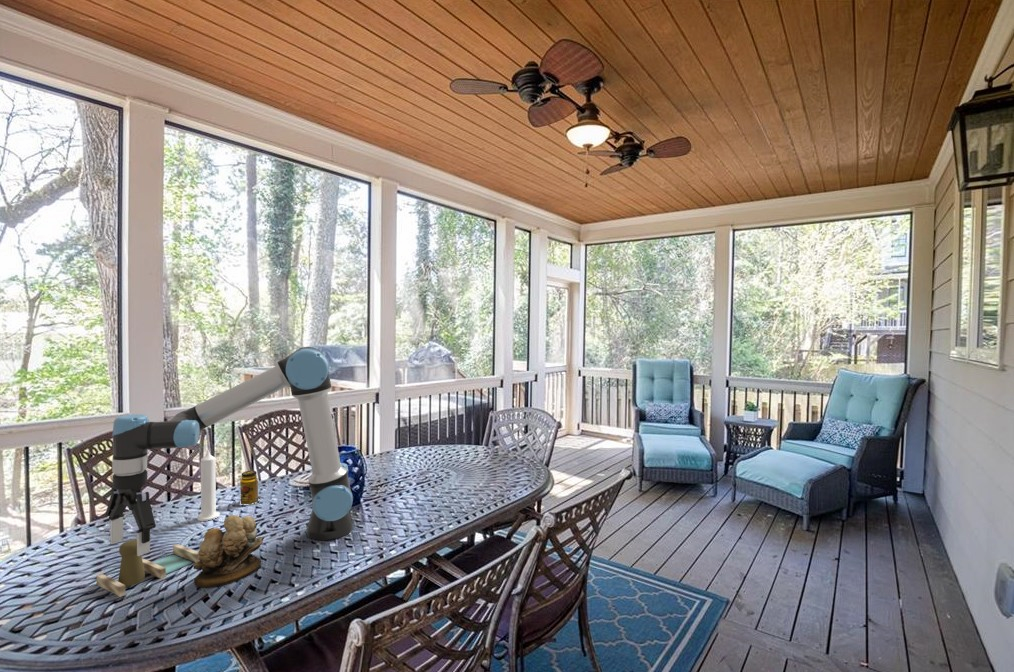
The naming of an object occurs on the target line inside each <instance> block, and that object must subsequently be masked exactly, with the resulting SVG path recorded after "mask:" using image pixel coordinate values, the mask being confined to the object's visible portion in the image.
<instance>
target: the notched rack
mask: <svg viewBox="0 0 1014 672" xmlns="http://www.w3.org/2000/svg"><path fill="white" fill-rule="evenodd" d="M172 550H173V551H172V552H173V553H172V554H170V555H168V556H166V557H162V558H161V559H158V560H155V561H150V560H147V559H145V558H143V557H142V561H143V567H144V572H145V573H148V574H150V575H152V576H154V577H156V578H159V579H164V578H166V577H167V576H166V575H168V574H171V573H174V572H175V571H177V570H178V571H179V570H180V569H183V568H185V567H187V566H189V565H191V564H193V563H196V562H198V561H200V560H199V559H198V555H199V554H198V552H199V551H198V550H194V549H191V548H188V547H187V546H184V545H181V544H178V543H176V544H174V545H173V546H172ZM95 579H96V586H98V587H100V588H102V589H104V590H106V591H108V592H110V593H112V594H113V595H116V596H117V597H120V598H122V597H123V596H125V595H126V587H125V585H124V584H122V583H120V582H118V580H116V579H113V578H112V577H110V576H108V575H105V574H104V573H100V574H97V575H96V578H95Z"/></svg>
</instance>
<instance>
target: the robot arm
mask: <svg viewBox="0 0 1014 672" xmlns="http://www.w3.org/2000/svg"><path fill="white" fill-rule="evenodd" d="M329 370H330V368H329V363H328V360H327V358H326V356H325V355H324V353H323V352H321V350H319V349H318V348H315V347H314V346H303V347H302V346H301V347H300V348H297V349H296V350H294V351H293V352H292V353H290V354H289V355H288V356H285V358H283V359H281V360H279V361H276V363H275V365H274V366H273V367H271V368H269V369H268V370H267V369H266V370H265V371H263V372H261V373H260V374H257V375H255V376H253V377H251V378H249V379H247V380H245V381H242V382H241V383H239V384H237V385H235V386H233V387H230V388H229V389H226V390H225V391H223V392H221V393H219V394H216V395H214V396H213V397H212V396H211V397H210V398H208V399H206V400H205V401H202V402H200V403H198V404H196V405H195V406H192V407H190V408H188V409H187V410H182V411H180V412H179V413H177V414H175V416H173V418H171V419H170V420H166V421H165V420H164V421H149V417H148V415H146V414H141V413H139V414H138V413H136V414H135V413H133V414H124V415H121V416H118V417H116V418H115V419H113V420H114V421H113V425H112V426H113V428H112V434H111V435H112V461H111V462H112V463H111V466H112V468H111V470H112V471H111V472H112V473H113V475H112V487H111V493H110V494H111V495H110V497H109V500H108V505H107V508H106V511H105V516H106V517H108V519H109V520H110V525H109V526H110V533H109V534H110V543H109V544H110V545H114V544H117V543H119V542H122V541H124V516H125V515H124V512H125V510H126V508H128V511H131V512H132V515H133V518H134V520H135V522H136V526H137V527H138V530H137V531H136V540H137V556H140V555H141V556H143V555H146V554H148V553H150V552H151V530H152V529H156V528H157V527H156V526H157V524H156V521H155V516H154V512H153V510H152V505H151V502H150V492H149V491H145V492H143V491H142V490H143V489H142V487H143V486H145V485H146V484H147V483H148V470H147V468H148V460H149V456H148V453H149V451H148V450H158V449H159V450H160V449H175V448H176V449H177V448H178V449H179V448H180V449H182V448H183V449H184V448H188V447H189V448H190V447H195V446H196V445H197V444H198V442H199V439H200V432H201V431H203V430H204V429H207V428H208V427H210V426H211V425H215V424H217V423H218V422H220V421H222V420H223V419H225V418H228V417H229V416H231V415H234V414H236V413H237V412H240V411H242V410H244V409H245V408H249V406H252V405H253V404H256V403H258V402H260V401H261V400H263V399H265V398H267V397H269V396H271V395H273V394H275V393H277V392H279V391H280V390H283V389H285V388H290V392H291V393H290V394H291V397H293V398H295V399H296V400H298V406H299V411H300V416H301V420H302V421H301V422H302V426H303V431H304V437H305V441H306V447H307V451H308V457H309V461H310V467H311V468H310V469H311V475H310V476H309V478H308V485H309V491H310V496H311V514H310V517H309V519H308V522H307V525H306V536H307V537H308V538H310V539H311V540H317V541H319V540H320V541H329V540H335V539H340V538H342V537H344V536H347V535H348V534H349V533H351V532H352V531H353V529H354V520H353V518H352V515H351V511H350V510H351V508H352V505H353V501H354V497H353V496H354V495H353V493H352V490H351V489H352V488H351V485H350V479H349V473H350V472H349V467H348V466H349V465H348V464H347V463H345V462H341V459H340V458H341V457H340V454H339V453H340V452H339V447H338V443H337V442H338V441H337V437H336V431H335V427H334V421H333V417H332V416H333V415H332V411H331V406H330V400H329V395H328V394H329V392H330V390H332V382H331V377H330V371H329Z"/></svg>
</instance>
